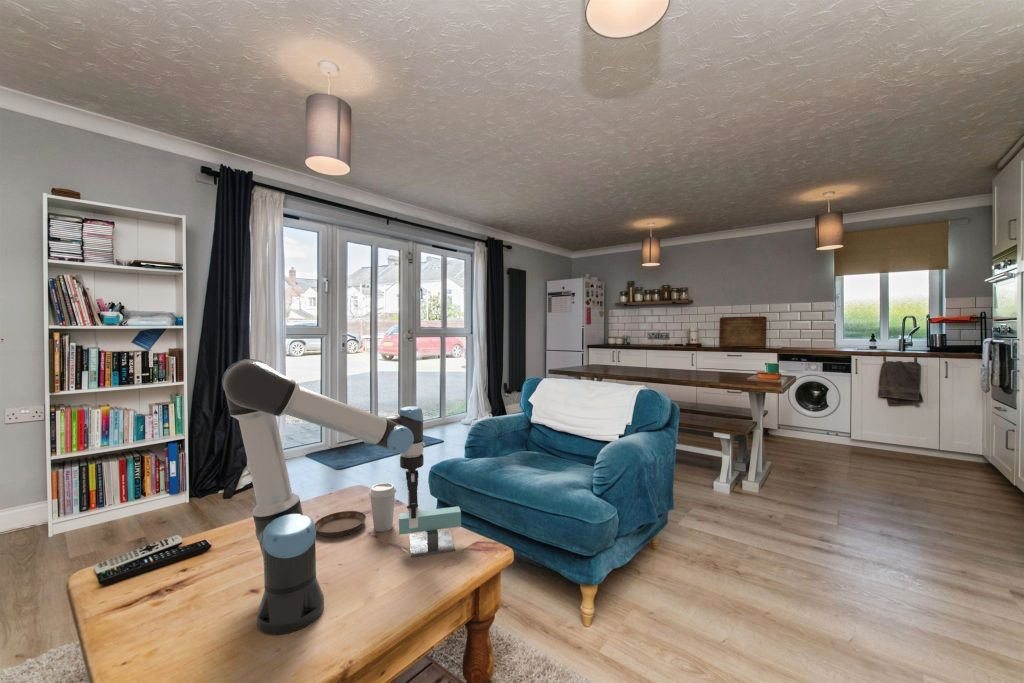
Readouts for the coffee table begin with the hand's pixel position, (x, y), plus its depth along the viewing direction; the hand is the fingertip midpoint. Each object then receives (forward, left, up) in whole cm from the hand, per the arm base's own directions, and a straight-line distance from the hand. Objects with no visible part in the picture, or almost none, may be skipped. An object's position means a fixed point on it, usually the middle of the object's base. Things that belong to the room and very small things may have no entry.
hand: (412, 518), depth 143 cm
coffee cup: (+18, +10, -10) cm, 23 cm away
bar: (0, -6, -4) cm, 7 cm away
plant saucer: (+22, +25, -10) cm, 35 cm away
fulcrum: (+1, -6, -10) cm, 11 cm away
